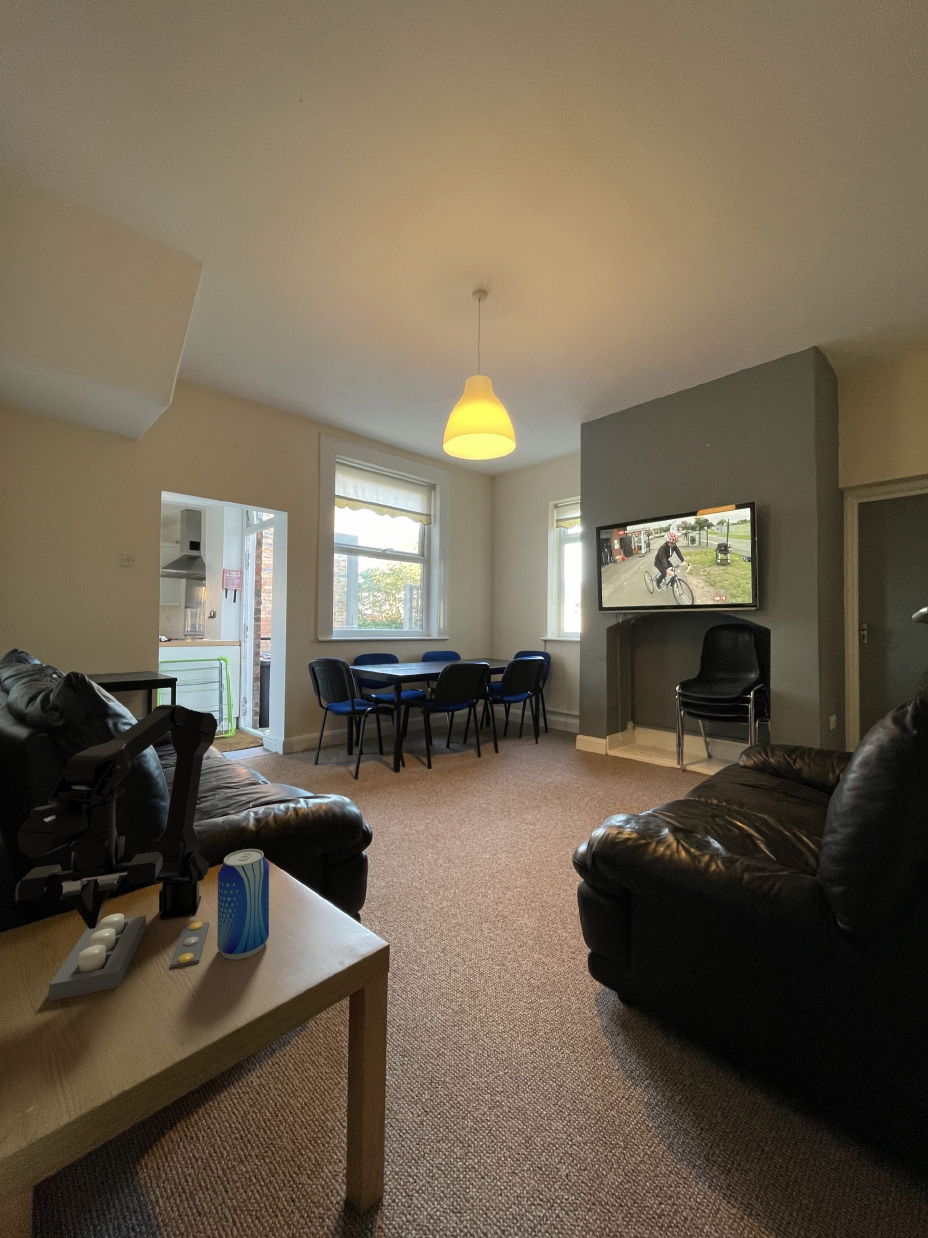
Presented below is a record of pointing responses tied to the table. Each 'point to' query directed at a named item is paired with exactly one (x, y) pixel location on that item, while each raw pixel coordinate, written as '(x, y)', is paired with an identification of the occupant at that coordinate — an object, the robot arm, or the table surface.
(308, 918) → the table surface
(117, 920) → the button
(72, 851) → the robot arm
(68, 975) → the button board
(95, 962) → the button
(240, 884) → the beer can
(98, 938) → the button mid
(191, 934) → the pattern tile
